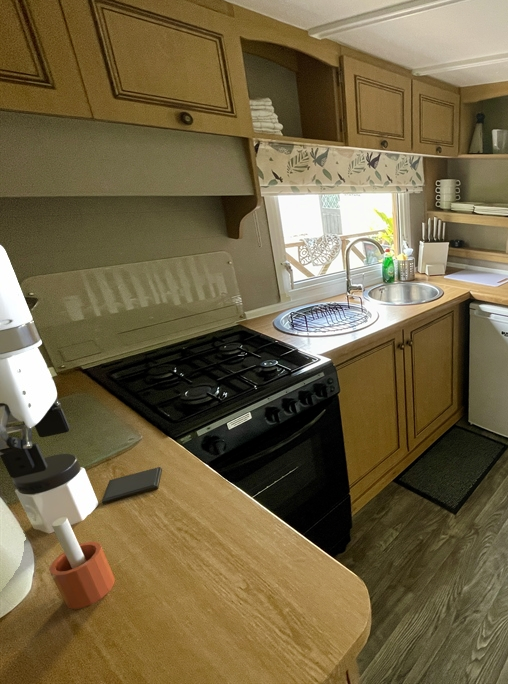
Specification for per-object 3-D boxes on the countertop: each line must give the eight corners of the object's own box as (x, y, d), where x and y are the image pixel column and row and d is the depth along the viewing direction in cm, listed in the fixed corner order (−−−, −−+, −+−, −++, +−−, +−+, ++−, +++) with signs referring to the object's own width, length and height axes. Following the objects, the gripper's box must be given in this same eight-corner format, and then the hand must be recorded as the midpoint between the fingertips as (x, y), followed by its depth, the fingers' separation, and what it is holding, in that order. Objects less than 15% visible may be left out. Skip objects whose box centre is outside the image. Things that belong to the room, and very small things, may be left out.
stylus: (83, 597, 58) (49, 528, 53) (85, 588, 60) (53, 520, 54) (96, 592, 59) (65, 523, 54) (99, 583, 60) (68, 515, 55)
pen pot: (62, 618, 56) (43, 581, 53) (73, 586, 60) (56, 551, 58) (111, 599, 59) (95, 563, 56) (119, 570, 63) (104, 536, 60)
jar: (24, 527, 70) (-2, 476, 66) (77, 496, 78) (57, 449, 73) (56, 540, 68) (32, 488, 64) (107, 506, 75) (88, 459, 71)
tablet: (102, 505, 76) (101, 501, 75) (110, 483, 81) (109, 479, 81) (158, 488, 80) (157, 485, 80) (162, 469, 86) (161, 465, 86)
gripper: (-18, 323, 51) (29, 428, 57) (-102, 373, 37) (-29, 503, 44) (58, 316, 55) (95, 415, 61) (7, 359, 41) (61, 480, 47)
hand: (43, 452), depth 52 cm, fingers open, 9 cm apart
